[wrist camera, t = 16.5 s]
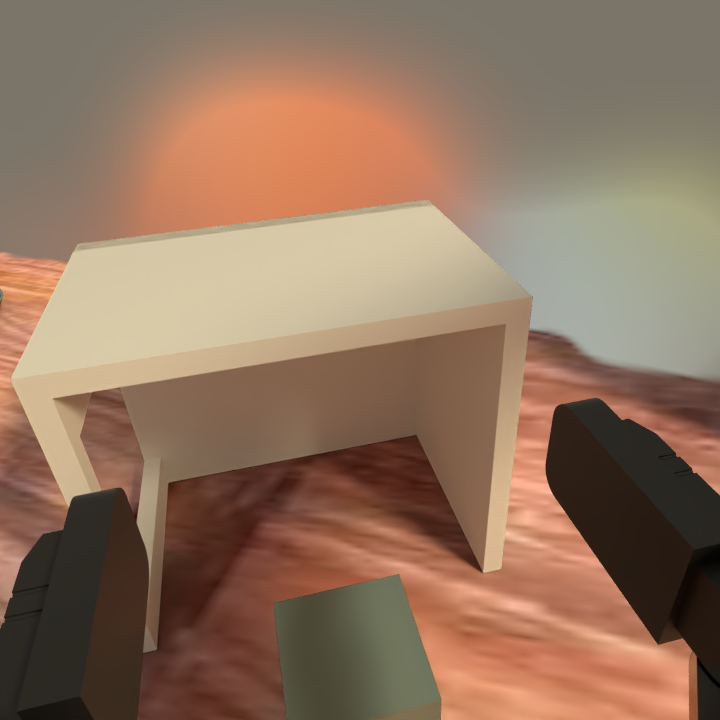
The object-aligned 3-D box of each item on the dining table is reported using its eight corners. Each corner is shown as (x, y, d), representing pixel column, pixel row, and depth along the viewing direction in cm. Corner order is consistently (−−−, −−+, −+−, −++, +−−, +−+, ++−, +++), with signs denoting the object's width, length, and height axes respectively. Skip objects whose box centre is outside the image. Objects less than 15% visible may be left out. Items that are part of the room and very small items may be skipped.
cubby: (425, 423, 50) (427, 199, 40) (501, 568, 37) (532, 296, 27) (153, 475, 46) (77, 244, 36) (135, 654, 34) (10, 379, 23)
